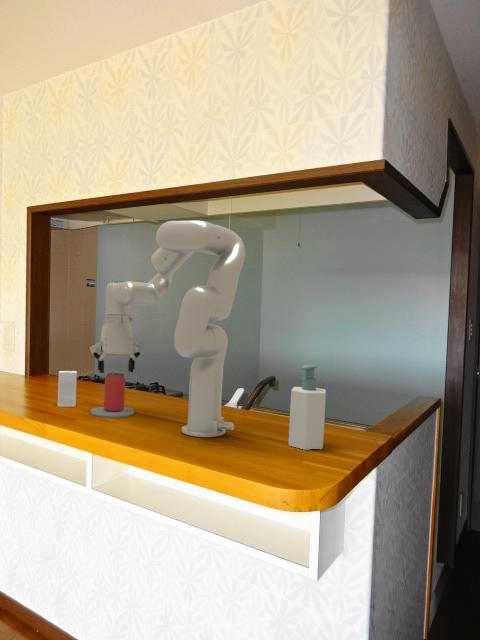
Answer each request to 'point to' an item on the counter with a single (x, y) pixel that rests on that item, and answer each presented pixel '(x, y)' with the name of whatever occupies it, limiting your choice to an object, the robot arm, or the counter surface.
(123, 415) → the slate mat
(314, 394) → the soap bottle
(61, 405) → the skincare box
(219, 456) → the counter surface
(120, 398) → the beer can
